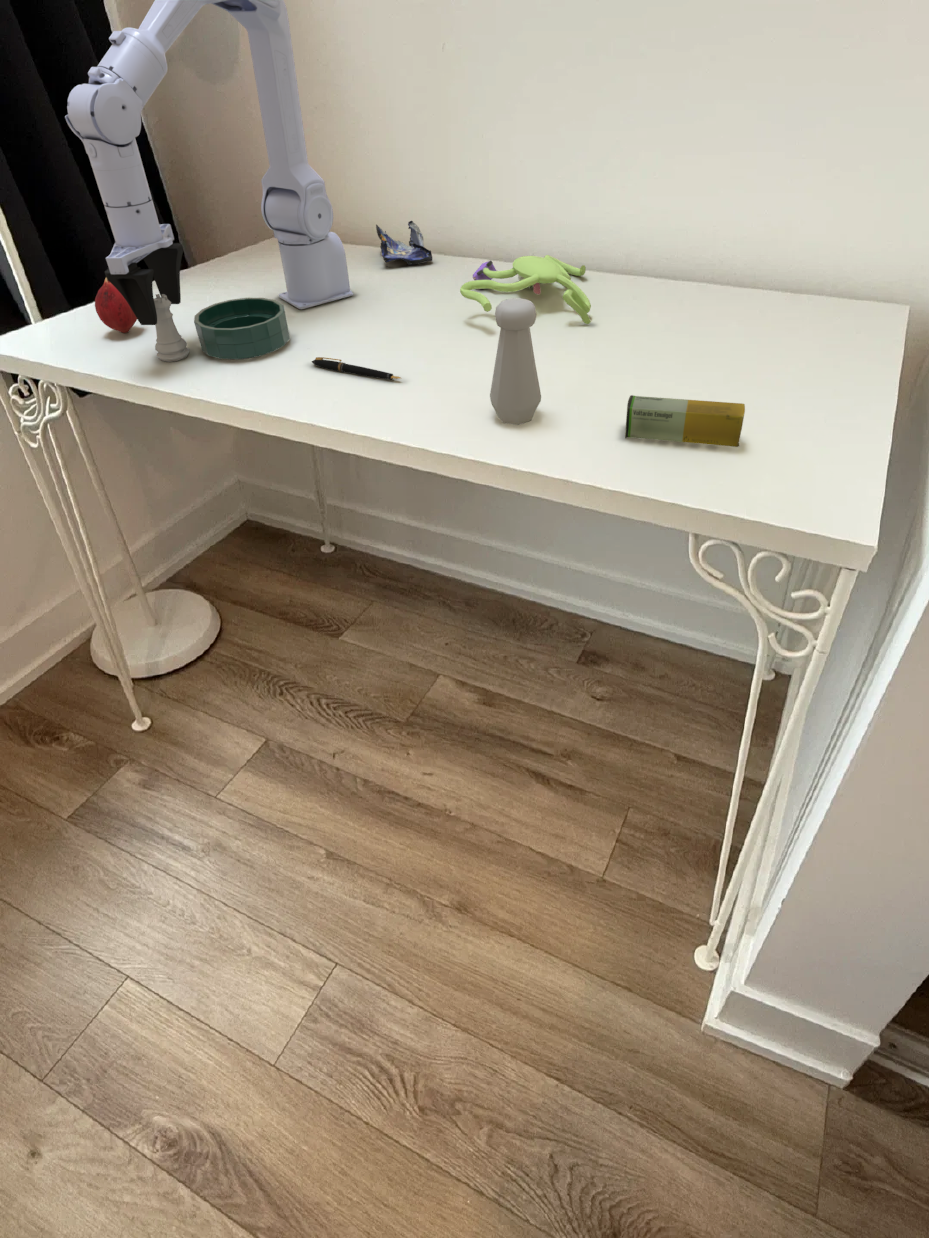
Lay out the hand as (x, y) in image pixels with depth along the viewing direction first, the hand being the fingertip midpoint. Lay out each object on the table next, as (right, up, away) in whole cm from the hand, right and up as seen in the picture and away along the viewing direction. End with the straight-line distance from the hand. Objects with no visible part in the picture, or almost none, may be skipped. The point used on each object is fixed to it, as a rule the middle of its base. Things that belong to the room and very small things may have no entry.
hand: (161, 313), depth 105 cm
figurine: (+50, +7, +14) cm, 53 cm away
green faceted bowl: (+10, -2, +6) cm, 12 cm away
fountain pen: (+27, -9, -3) cm, 28 cm away
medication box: (+64, -22, -20) cm, 71 cm away
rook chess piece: (0, -5, +4) cm, 6 cm away
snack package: (+30, +23, +33) cm, 50 cm away
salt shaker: (+47, -18, -14) cm, 52 cm away
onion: (-10, +1, +12) cm, 15 cm away
